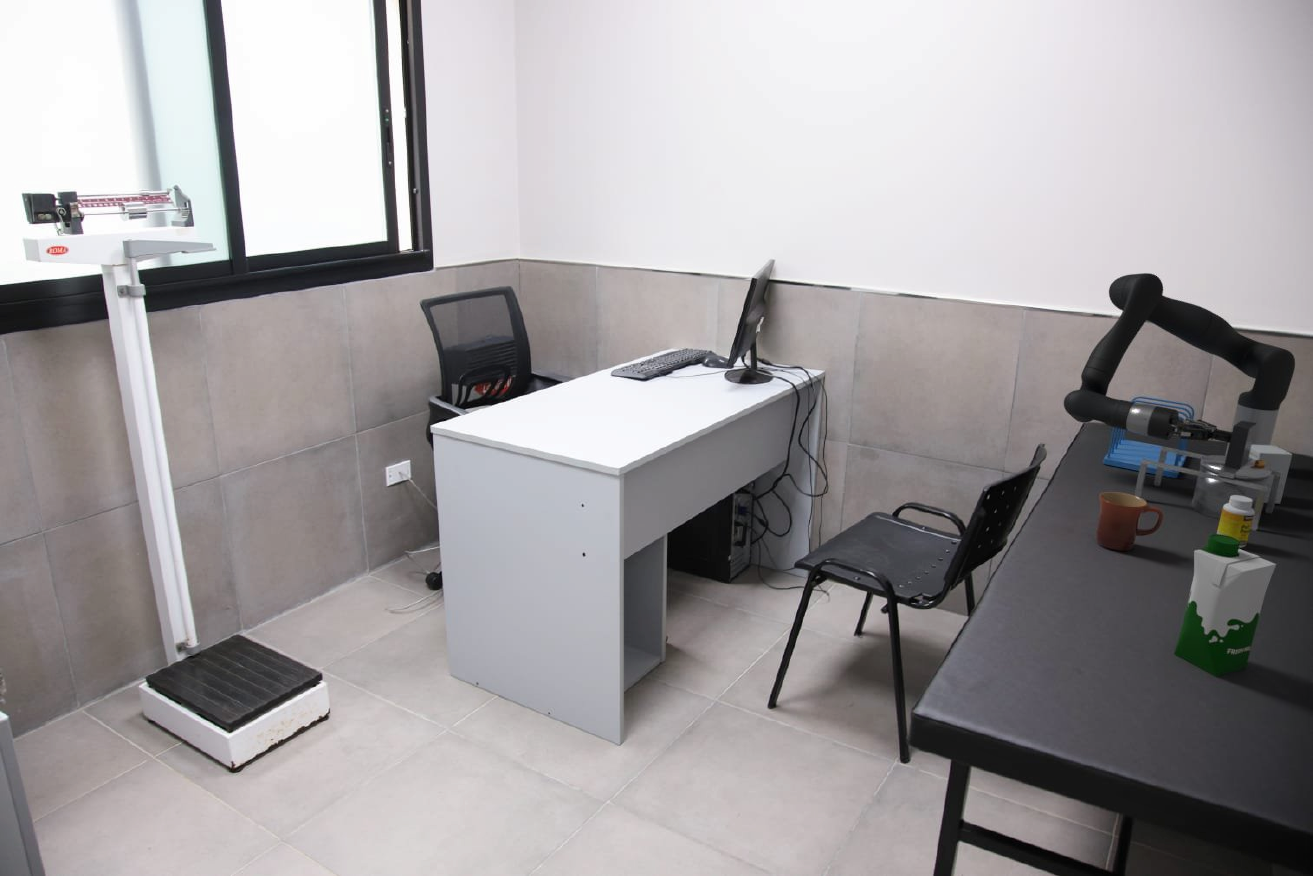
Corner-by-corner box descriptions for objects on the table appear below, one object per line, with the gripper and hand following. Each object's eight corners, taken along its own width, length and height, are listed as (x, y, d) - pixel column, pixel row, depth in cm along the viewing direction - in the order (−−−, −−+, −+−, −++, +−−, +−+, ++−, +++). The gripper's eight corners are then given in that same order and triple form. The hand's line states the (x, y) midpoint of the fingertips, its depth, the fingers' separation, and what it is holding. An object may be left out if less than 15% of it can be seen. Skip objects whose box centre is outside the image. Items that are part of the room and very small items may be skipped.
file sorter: (1176, 480, 223) (1188, 422, 219) (1102, 465, 233) (1112, 410, 228) (1187, 457, 243) (1199, 403, 238) (1118, 444, 252) (1128, 393, 248)
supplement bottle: (1238, 551, 180) (1249, 504, 177) (1209, 541, 184) (1220, 496, 181) (1251, 545, 183) (1262, 500, 180) (1222, 536, 187) (1233, 491, 184)
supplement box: (1263, 493, 215) (1275, 444, 211) (1280, 504, 208) (1293, 454, 204) (1231, 491, 215) (1243, 443, 212) (1248, 502, 208) (1260, 452, 205)
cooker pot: (1133, 499, 208) (1141, 459, 205) (1154, 484, 219) (1162, 446, 216) (1255, 530, 191) (1266, 487, 188) (1272, 512, 202) (1282, 471, 199)
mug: (1090, 548, 178) (1099, 502, 175) (1090, 534, 186) (1098, 489, 183) (1157, 560, 174) (1167, 513, 171) (1153, 545, 181) (1163, 499, 178)
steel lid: (1191, 469, 198) (1201, 424, 195) (1210, 455, 209) (1220, 412, 206) (1261, 485, 189) (1273, 438, 186) (1277, 469, 200) (1288, 424, 197)
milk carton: (1201, 642, 143) (1228, 529, 137) (1256, 670, 135) (1287, 552, 129) (1164, 652, 139) (1190, 537, 134) (1218, 682, 131) (1249, 560, 126)
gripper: (1145, 410, 204) (1230, 427, 192) (1164, 401, 213) (1246, 417, 201) (1139, 440, 206) (1222, 459, 194) (1157, 430, 215) (1238, 448, 203)
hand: (1234, 438), depth 198 cm, fingers closed
